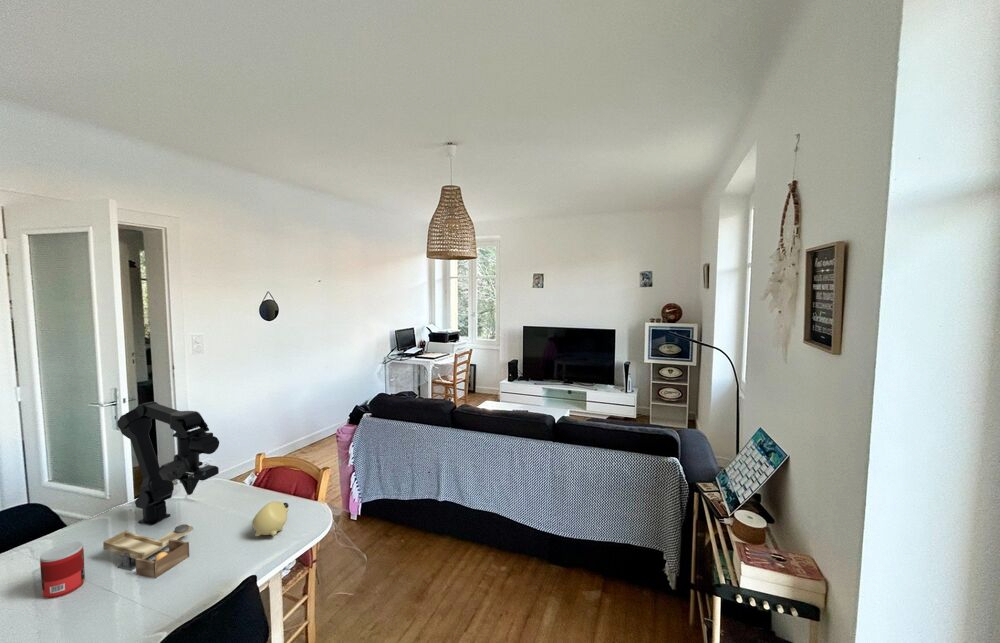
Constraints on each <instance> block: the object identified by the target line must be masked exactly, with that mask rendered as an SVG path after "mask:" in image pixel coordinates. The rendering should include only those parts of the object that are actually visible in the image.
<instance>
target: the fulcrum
mask: <svg viewBox="0 0 1000 643" xmlns="http://www.w3.org/2000/svg"><path fill="white" fill-rule="evenodd" d="M150 538H151V537H150ZM151 539H153V538H151ZM161 552H162V551H161V550H159V551H157V552H156V553H154V554H152V555H151V556H149V557H147V558H146V559H145V560H150V561H151V559H154V558H155V557H156V556H157V555H158V554H159V553H161ZM122 561H123V562H122V563H120V564H119V565H117V569H120V570H121V569H122V570H127V571H129V572H130V571H133V570H136V559H134V558H131V557H129V553H124V554H123V555H122Z"/></svg>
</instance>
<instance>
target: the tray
mask: <svg viewBox="0 0 1000 643" xmlns="http://www.w3.org/2000/svg"><path fill="white" fill-rule="evenodd" d="M165 552H166V553H167V555H166V556H164V557H162V558H161V559H159V560H157V561H156V562H155V558H153V560H151V559H150V560H145V559H140V558H137V559H136V568H135V574H136V576H138V575H139V576H141V577H142V576H143V577H146V578H151V579H157V578H158V577H160V576H162V575H163V574H165V573H166V572H167V571H170V570H171V569H172V568H174V567H176V566H177V565H178V564H180V563H182V562H183V561H184V560H186V559H189V557H190V542H188V541H183V540H179V539H177V540H174V539H170V540H169V544H168V550H167V551H165Z"/></svg>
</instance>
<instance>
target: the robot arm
mask: <svg viewBox="0 0 1000 643" xmlns="http://www.w3.org/2000/svg"><path fill="white" fill-rule="evenodd" d="M153 419H154V420H156V421H159V422H162V423H165V424H167V425H169V428H170V429H171V430H172V431H174V433H173V434H172V437H173V438H174V437H175V438H176V439H177V441H176V442H177V453H176V454H175V455H174V456H173V460H172V461H170V462H167V463H164V464H162V465H161V466H160V464H159V461H158V458H157V455H156V452H155V449H154V446H153V443H152V440H151V438H150V437H151V436H150V431H151V428H152V425H153V424H152V420H153ZM116 424H117V428H119V431H120V432H121V435H123V436H124V437H126V438H128V439H129V440H130V442H131V445H132V449H133V452H134V454H135V457H136V460H137V463H138V466H139V469H140V472H141V476H142V482H141V485H140V488H139V489H140V495H139V496H138V497H137V498H136V500H134V504H135V507H136V508H138V509H142V519H140V520H138V524H142V525H143V524H144V525H148V526H149V525H150V526H154V525H156V524H158V523H160V522H162V521H163V520H165V519H167V518H169V517H171V515H172V514H171V513H167V503H166V500H169V499H171V498H172V495H173V492H174V482H173V481H175V480H178V481H180V483H181V484H182V486H183V488H184V491H185V493H186V495H188V496H191V495H193V493H194V491H195V488H197V485H198V483H199V482H200V481H202V482H203V481H206V480H208V479H211V478H212V477H214V476H216V475H219V474H220V472H219V471H220V470H219V469H220V468H219V467H218V466H217V465H211V464H207V465H204V466H203V464H204V463H203V461H200V455H202V454H204V455H211V454H214V453H215V452H216V451H217V450H218V448H219V447H220V446H219V445H220V440H219V439H218V437H216V436H214V432H209V431H210V428H209V427H208V426H209V425H208V423H207V422H206V421H205V420H204V418H203V416H202V414H201V413H200V412H198V411H196V410H195V411H194V410H177V409H176V408H175V409H174V408H172V407H169V406H165V405H163V404H159V403H158V402H156V401H150V402H144V403H140V404H139V405H137V406H136V407H135V408H133V409H131V410H130V411H128V412H126V413H125V414H123V415H121V416H120V417H119V418H118V420H117V421H116Z"/></svg>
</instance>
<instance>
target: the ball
mask: <svg viewBox="0 0 1000 643" xmlns="http://www.w3.org/2000/svg"><path fill="white" fill-rule="evenodd" d="M166 552H167V551H161V553H159V554H158V555H156V556H155V557H154V559H155V562H156V561H157V560H159V559H161V558H162V557H164V556H166V555H167V553H166Z"/></svg>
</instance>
